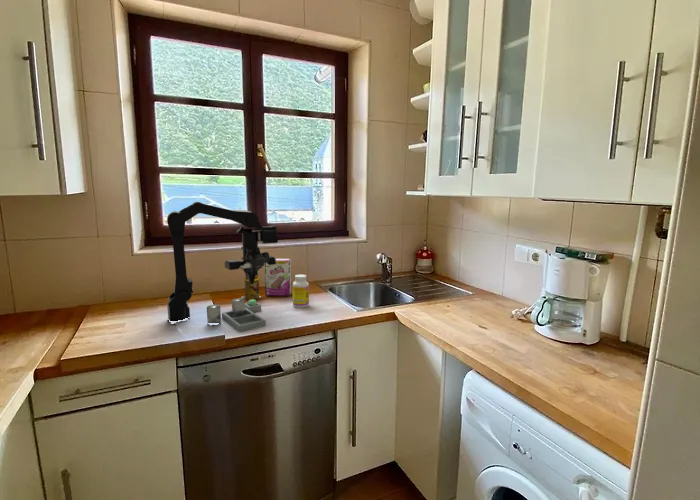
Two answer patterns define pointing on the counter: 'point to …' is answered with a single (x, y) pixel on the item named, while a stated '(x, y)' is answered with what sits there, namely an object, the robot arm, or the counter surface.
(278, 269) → the candy bar box
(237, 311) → the seated billet
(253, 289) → the condiment
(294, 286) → the supplement bottle
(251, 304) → the button
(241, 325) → the grey divided tray
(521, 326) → the counter surface
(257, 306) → the button collar
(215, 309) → the billet
